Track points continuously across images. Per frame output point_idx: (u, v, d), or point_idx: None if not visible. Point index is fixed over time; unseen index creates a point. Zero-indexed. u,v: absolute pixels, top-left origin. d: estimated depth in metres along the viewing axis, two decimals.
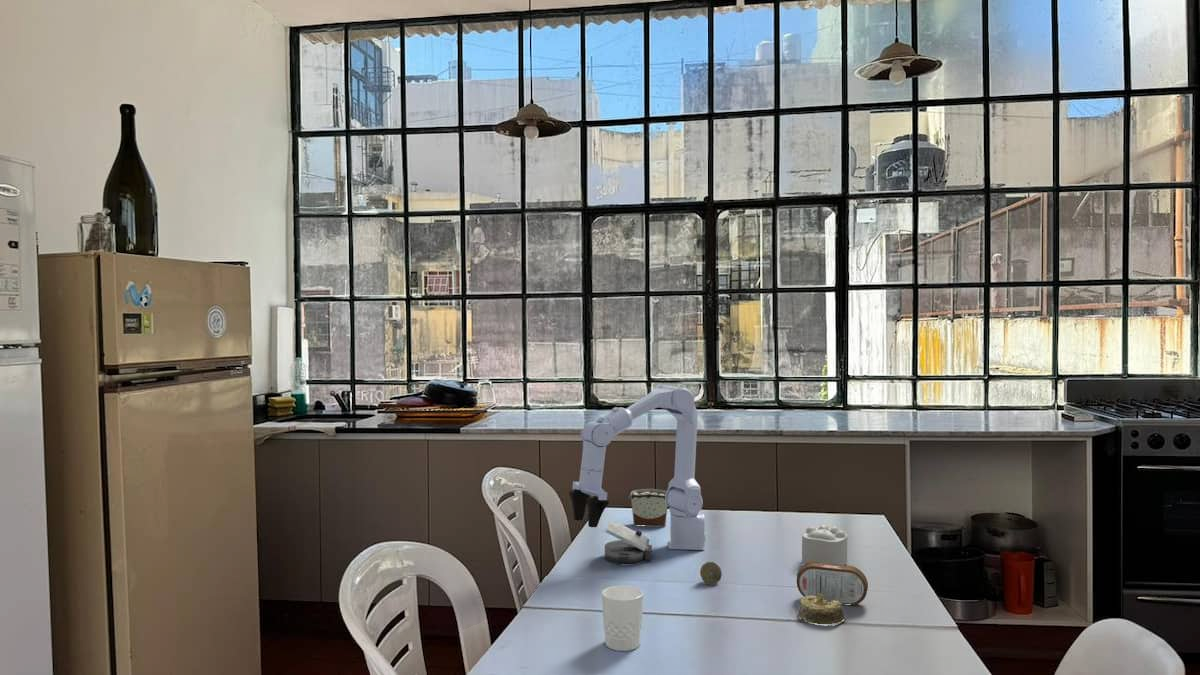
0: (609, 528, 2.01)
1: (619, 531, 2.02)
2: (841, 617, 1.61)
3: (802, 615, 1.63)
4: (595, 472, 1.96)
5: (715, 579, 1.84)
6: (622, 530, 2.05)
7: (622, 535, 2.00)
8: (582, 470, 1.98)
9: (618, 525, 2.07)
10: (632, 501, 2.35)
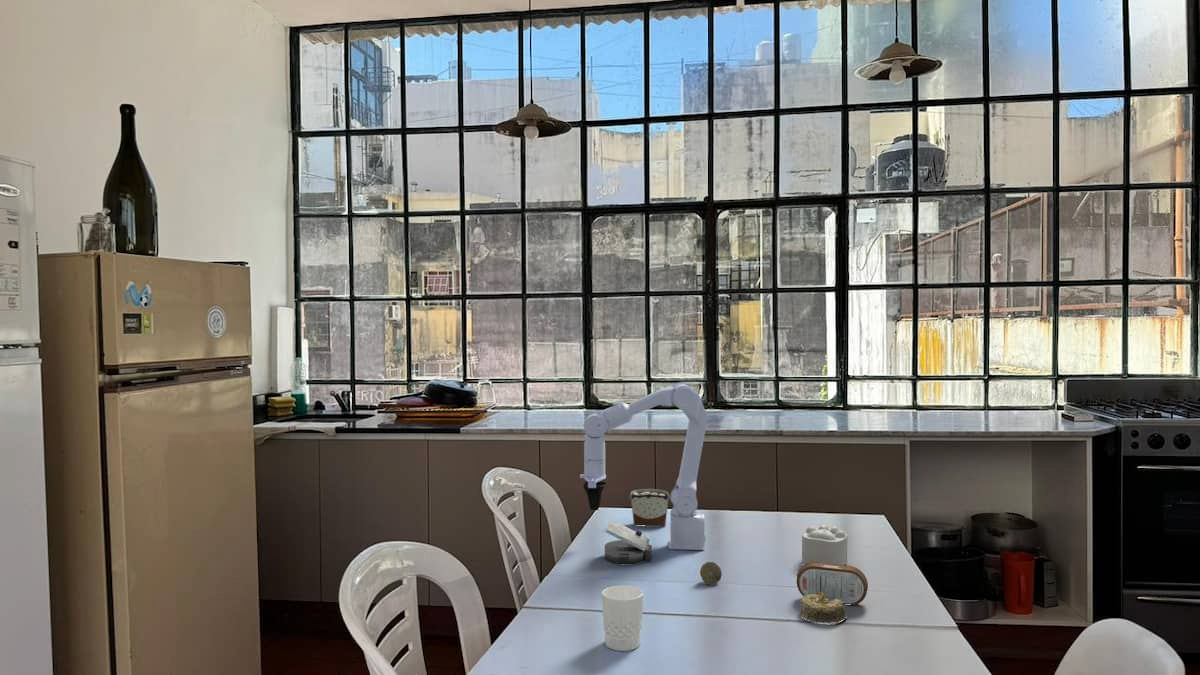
0: (609, 528, 2.01)
1: (619, 531, 2.02)
2: (842, 616, 1.62)
3: (804, 614, 1.64)
4: (591, 461, 2.10)
5: (715, 579, 1.84)
6: (622, 530, 2.05)
7: (622, 535, 2.00)
8: (584, 460, 2.13)
9: (618, 525, 2.07)
10: (632, 501, 2.35)
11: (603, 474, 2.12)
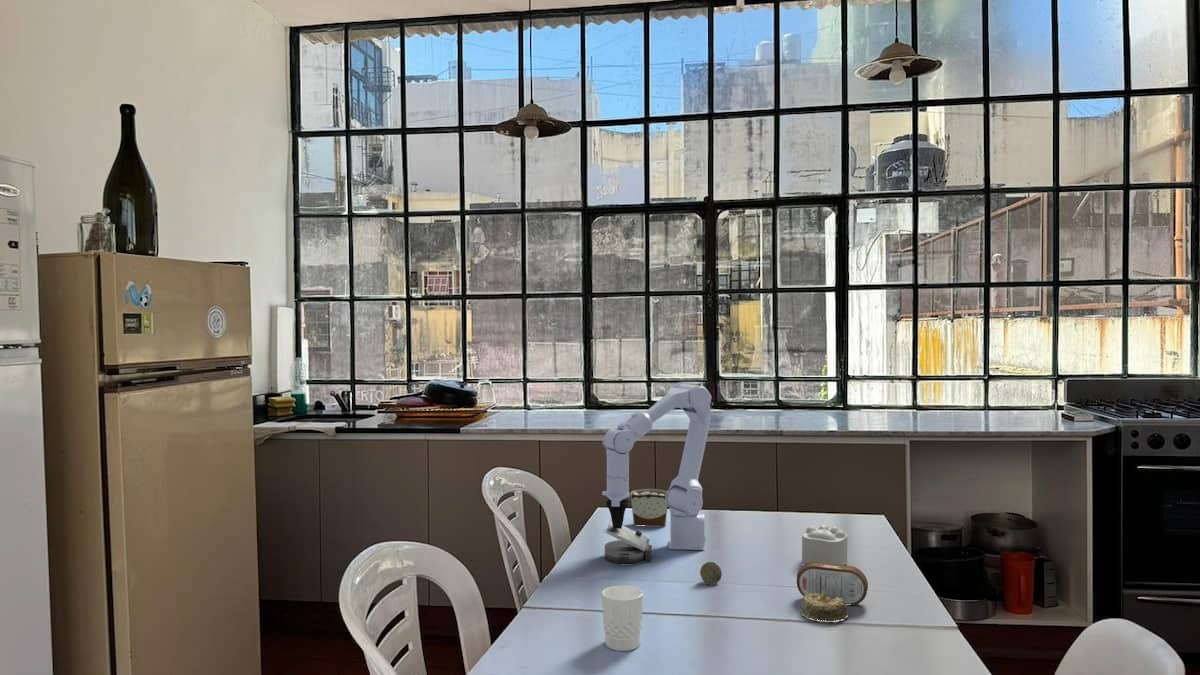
0: (609, 528, 2.01)
1: (619, 532, 2.02)
2: (844, 614, 1.63)
3: (805, 612, 1.64)
4: (615, 478, 2.01)
5: (715, 579, 1.84)
6: (622, 530, 2.05)
7: (622, 535, 2.00)
8: None
9: None
10: (632, 501, 2.35)
11: (627, 492, 2.02)
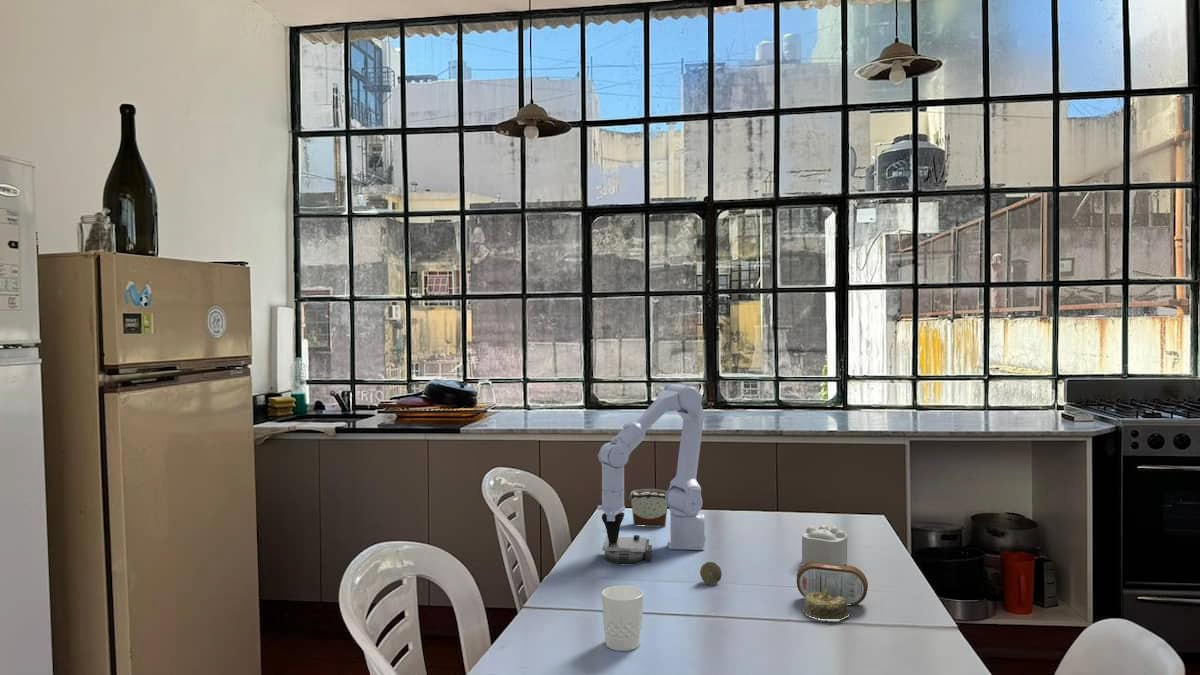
0: (604, 545, 2.01)
1: (616, 544, 2.02)
2: (845, 613, 1.64)
3: (807, 611, 1.65)
4: (610, 493, 2.01)
5: (715, 579, 1.84)
6: (619, 541, 2.05)
7: (619, 546, 2.00)
8: (602, 491, 2.04)
9: None
10: (632, 501, 2.35)
11: (622, 506, 2.02)
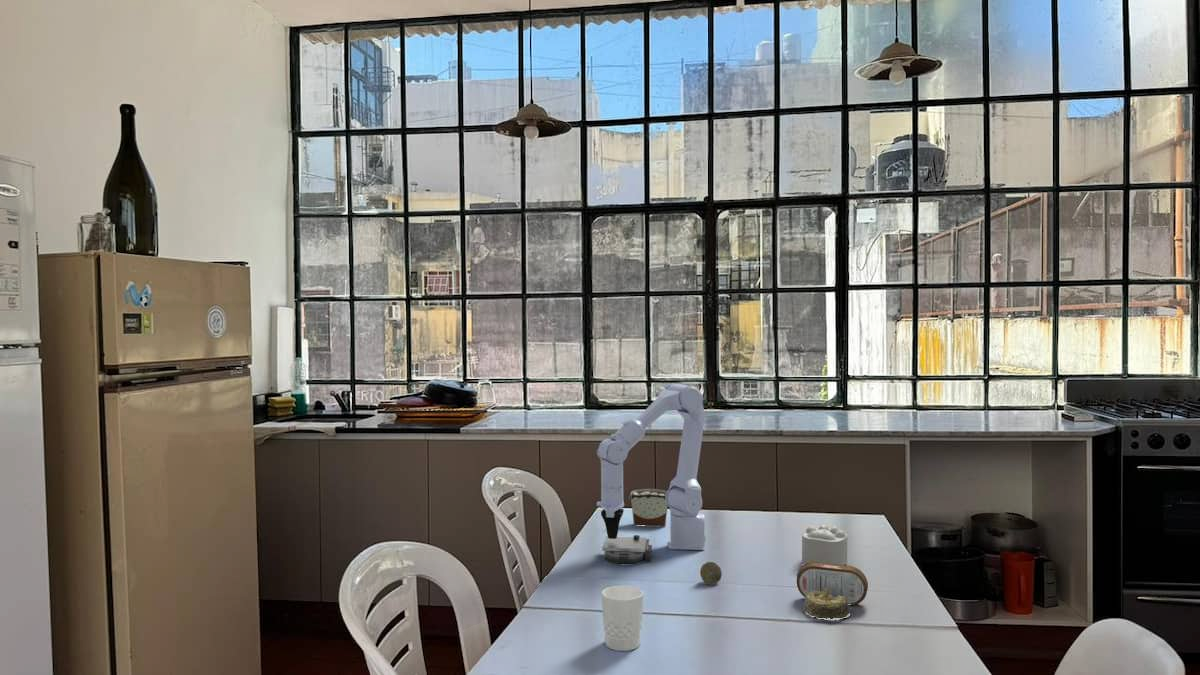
0: (604, 545, 2.01)
1: (616, 544, 2.02)
2: (846, 612, 1.64)
3: (808, 610, 1.66)
4: (609, 489, 2.01)
5: (715, 579, 1.84)
6: (619, 541, 2.05)
7: (619, 546, 2.00)
8: (601, 487, 2.04)
9: None
10: (632, 501, 2.35)
11: (621, 502, 2.02)
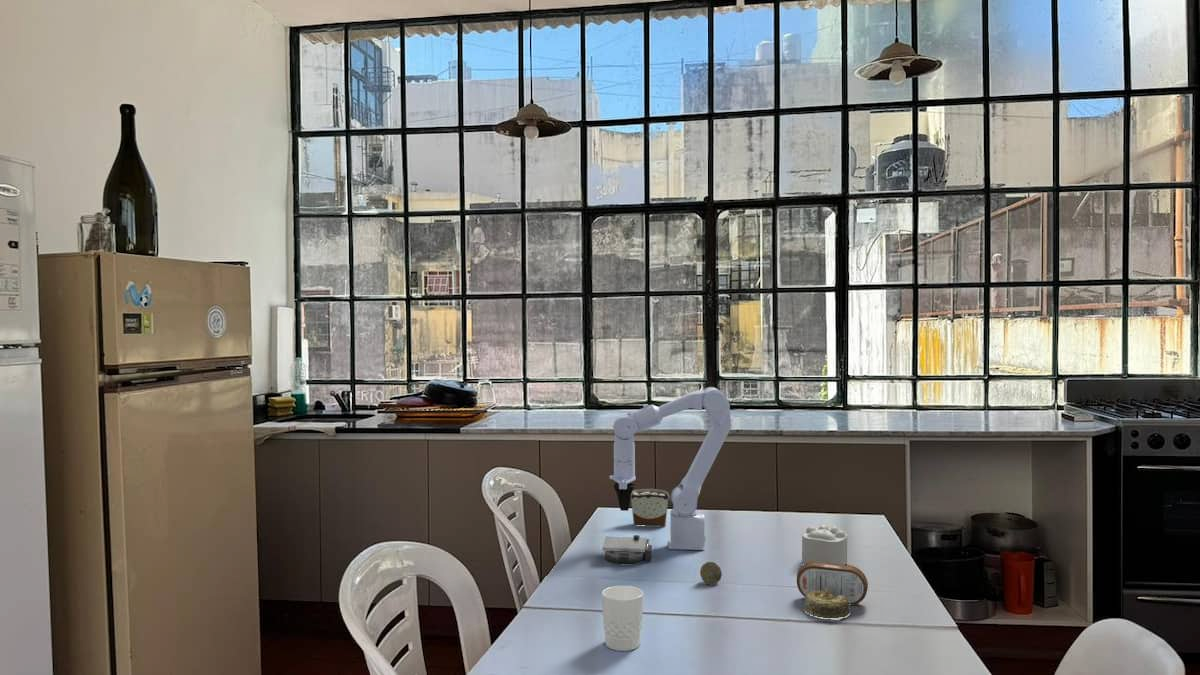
0: (604, 545, 2.01)
1: (616, 544, 2.02)
2: (846, 611, 1.65)
3: (808, 609, 1.66)
4: (621, 463, 2.11)
5: (715, 579, 1.84)
6: (619, 541, 2.05)
7: (619, 546, 2.00)
8: (614, 461, 2.14)
9: (614, 538, 2.07)
10: (632, 501, 2.35)
11: (633, 475, 2.12)
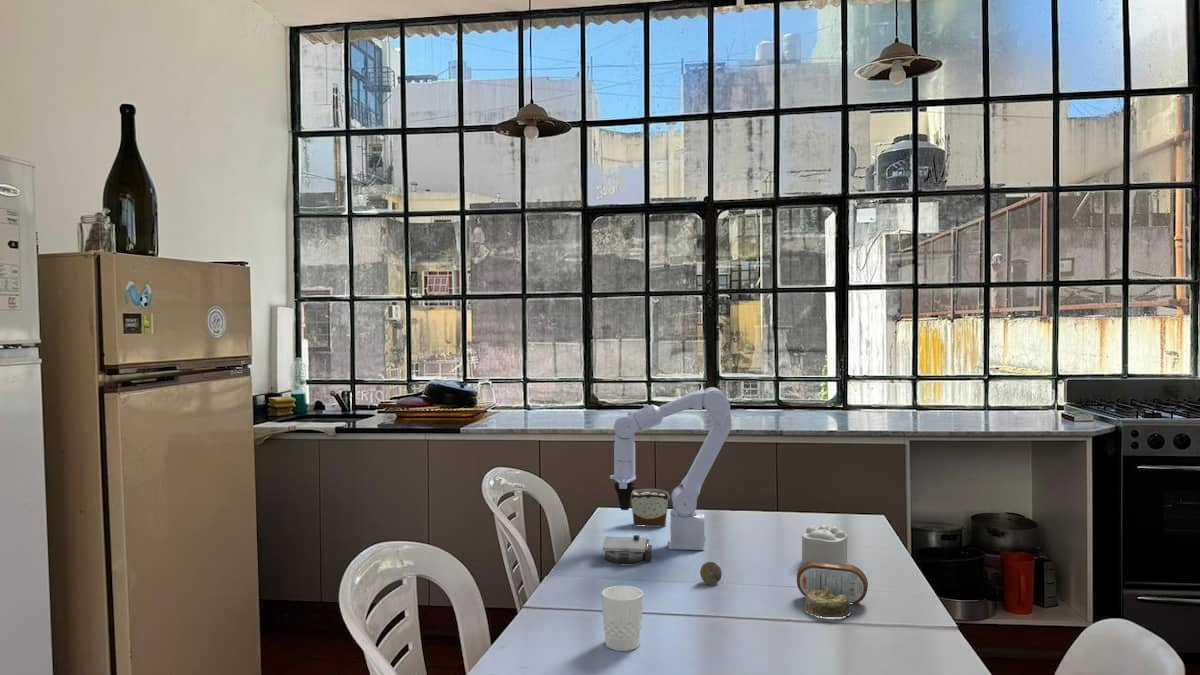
0: (604, 545, 2.01)
1: (616, 544, 2.02)
2: (847, 611, 1.65)
3: (809, 609, 1.66)
4: (622, 462, 2.12)
5: (715, 579, 1.84)
6: (619, 541, 2.05)
7: (619, 546, 2.00)
8: (614, 461, 2.14)
9: (614, 538, 2.07)
10: (632, 501, 2.35)
11: (633, 475, 2.13)
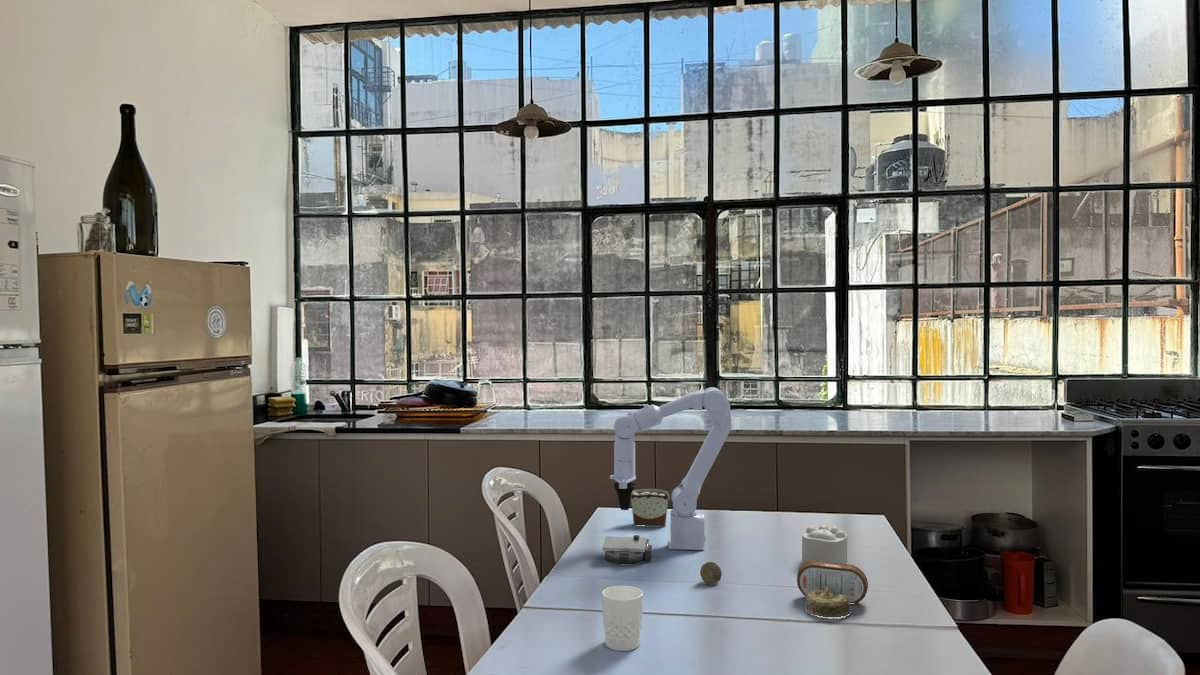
0: (604, 545, 2.01)
1: (616, 544, 2.02)
2: (847, 610, 1.65)
3: (809, 608, 1.66)
4: (622, 462, 2.12)
5: (715, 579, 1.84)
6: (619, 541, 2.05)
7: (619, 546, 2.00)
8: (614, 461, 2.14)
9: (614, 538, 2.07)
10: (632, 501, 2.35)
11: (633, 475, 2.13)
